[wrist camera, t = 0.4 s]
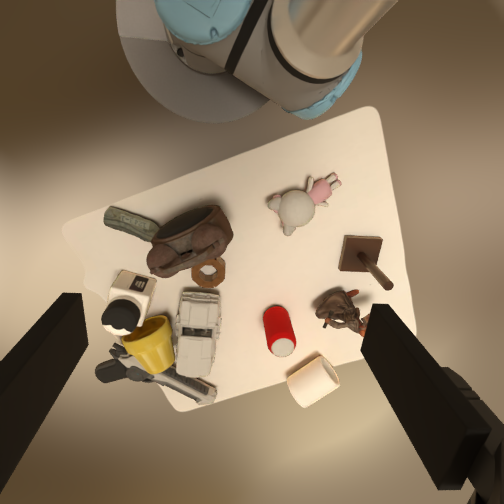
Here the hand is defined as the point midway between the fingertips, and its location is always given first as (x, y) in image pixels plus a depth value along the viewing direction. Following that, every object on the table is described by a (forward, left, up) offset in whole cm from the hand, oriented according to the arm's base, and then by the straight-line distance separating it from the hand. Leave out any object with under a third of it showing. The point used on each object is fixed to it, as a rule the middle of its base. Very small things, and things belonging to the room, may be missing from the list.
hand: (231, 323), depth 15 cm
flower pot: (+45, -13, -46) cm, 66 cm away
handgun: (+61, -21, -52) cm, 83 cm away
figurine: (+30, +28, -53) cm, 67 cm away
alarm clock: (+13, -6, -53) cm, 55 cm away
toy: (+6, +16, -53) cm, 55 cm away
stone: (+12, -17, -52) cm, 56 cm away
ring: (+23, -3, -53) cm, 58 cm away
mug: (+50, +21, -46) cm, 70 cm away
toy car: (+38, -5, -53) cm, 65 cm away
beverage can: (+35, +13, -53) cm, 65 cm away
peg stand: (+18, +30, -53) cm, 63 cm away
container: (+29, -19, -53) cm, 63 cm away
